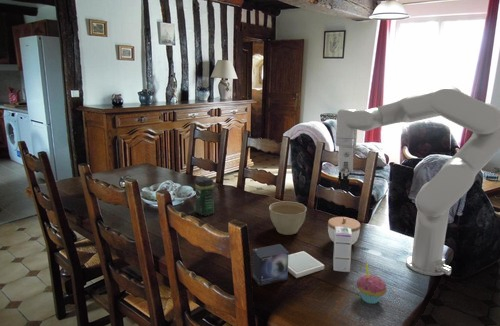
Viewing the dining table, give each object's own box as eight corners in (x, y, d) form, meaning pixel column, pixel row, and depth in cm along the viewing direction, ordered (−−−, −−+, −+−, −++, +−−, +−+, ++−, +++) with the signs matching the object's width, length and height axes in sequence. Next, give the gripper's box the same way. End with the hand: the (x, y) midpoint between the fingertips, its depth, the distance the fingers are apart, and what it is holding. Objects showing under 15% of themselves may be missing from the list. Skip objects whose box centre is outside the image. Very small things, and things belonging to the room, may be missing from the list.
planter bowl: (271, 222, 164) (271, 200, 161) (306, 225, 161) (307, 202, 158) (266, 236, 148) (266, 212, 146) (304, 240, 145) (305, 215, 143)
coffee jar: (216, 214, 173) (216, 178, 169) (202, 217, 169) (201, 180, 164) (207, 208, 181) (206, 173, 177) (193, 211, 176) (192, 176, 172)
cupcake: (354, 303, 104) (357, 267, 101) (356, 288, 112) (359, 254, 109) (385, 310, 101) (389, 273, 98) (385, 294, 109) (389, 259, 106)
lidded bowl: (357, 252, 135) (359, 226, 132) (324, 247, 139) (326, 221, 137) (359, 239, 146) (361, 214, 144) (329, 234, 151) (330, 210, 148)
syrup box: (350, 272, 121) (353, 233, 118) (332, 270, 122) (335, 232, 119) (349, 264, 126) (351, 227, 123) (332, 262, 127) (334, 225, 124)
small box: (259, 287, 112) (260, 257, 110) (251, 277, 118) (251, 248, 116) (288, 280, 116) (289, 251, 114) (279, 270, 122) (279, 243, 120)
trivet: (324, 269, 123) (324, 264, 123) (296, 278, 117) (296, 273, 117) (303, 254, 133) (303, 250, 133) (276, 262, 128) (277, 257, 127)
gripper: (359, 146, 124) (355, 192, 128) (353, 138, 140) (350, 179, 144) (337, 145, 125) (334, 191, 129) (334, 138, 142) (332, 178, 145)
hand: (343, 185), depth 136 cm, fingers open, 9 cm apart
